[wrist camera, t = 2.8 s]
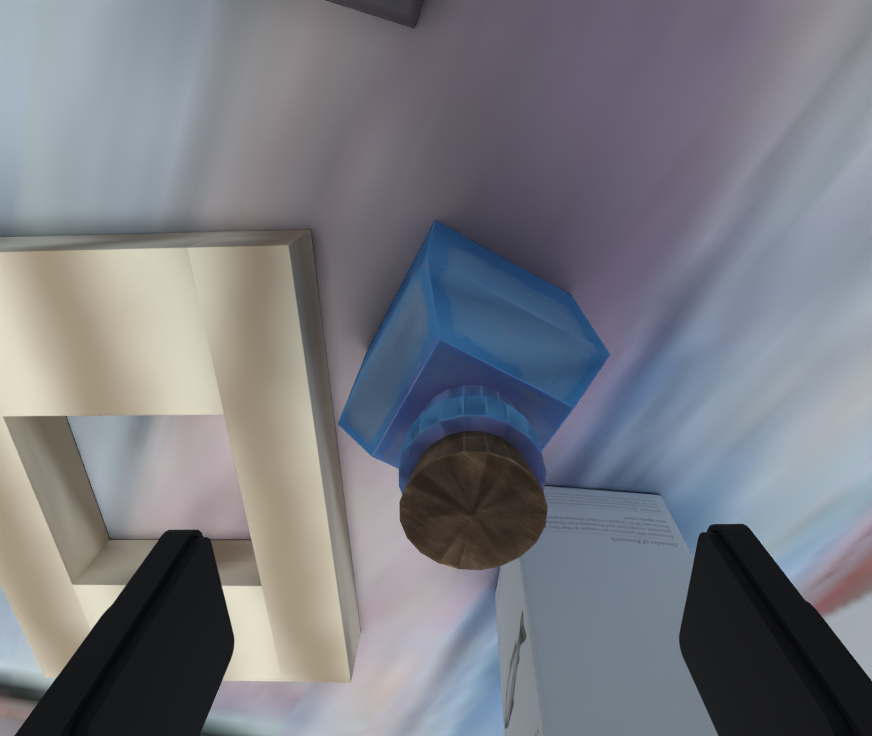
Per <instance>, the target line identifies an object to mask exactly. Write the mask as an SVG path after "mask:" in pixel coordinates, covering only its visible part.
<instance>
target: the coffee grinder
mask: <svg viewBox="0 0 872 736" xmlns="http://www.w3.org/2000/svg"><path fill="white" fill-rule="evenodd" d="M326 1H329V2H333V3H336V4H339V5H342V6H345V7H348V8H352V9H355V10H358V11H361V12H364V13H367V14H371V15H374V16H377V17H380V18H383V19H386V20H390V21H393V22H396V23H399V24H402V25H405V26H408V27H411V28H414V26H415V23H416V20H417V18H418V15H419V12H420V9H421V6H422V3H423V0H326Z"/></svg>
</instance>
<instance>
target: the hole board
mask: <svg viewBox="0 0 872 736" xmlns="http://www.w3.org/2000/svg"><path fill="white" fill-rule="evenodd" d="M219 414H224V417H225V421H226V426H227V430H228V435H229V440H230V444H231V449H232V453H233V458H234V462H235V467H236V471H237V476H238V481H239V485H240V490H241V494H242V499H243V503H244V508H245V512H246V517H247V522H248V526H249V531H250V535H251V540H211V543H212V547H213V551H214V555H215V559H216V564H217V568H218V572H219V576H220V580H221V584H222V588H223V592H224V597H225V601H226V605H227V609H228V613H229V617H230V621H231V625H232V630H233V634H234V651H233V655H232V658H231V661H230V663H229V665H228V668H227V670H226V672H225V675H224V677H223V680H230V681H295V682H351V679H352V674H353V668H354V663H355V658H356V653H357V648H358V643H359V637H360V632H361V631H360V623H359V615H358V607H357V599H356V590H355V582H354V574H353V566H352V558H351V550H350V542H349V534H348V526H347V518H346V510H345V502H344V494H343V486H342V478H341V470H340V462H339V454H338V446H337V438H336V430H335V422H334V414H333V406H332V397H331V389H330V381H329V373H328V365H327V357H326V349H325V341H324V333H323V325H322V317H321V309H320V301H319V293H318V285H317V277H316V269H315V261H314V253H313V245H312V237H311V229H306V230H266V231H226V232H186V233H146V234H105V235H65V236H25V237H0V585H1V587H2V589H3V591H4V593H5V595H6V597H7V599H8V601H9V603H10V605H11V608H12V610H13V612H14V614H15V616H16V618H17V620H18V622H19V624H20V626H21V628H22V630H23V632H24V634H25V636H26V638H27V640H28V643H29V645H30V647H31V649H32V651H33V653H34V655H35V657H36V659H37V661H38V663H39V665H40V667H41V669H42V671H43V673H44V675H45V678H57V677H58V675H59V674H60V672H61V671H62V670H63V668H64V667H65V666H66V664H67V663H68V661H69V660H70V659H71V657H72V656H73V655H74V653H75V652H76V650H77V649H78V648H79V646H80V645H81V644H82V642H83V641H84V639H85V638H86V637H87V635H88V634H89V633H90V631H91V630H92V628H93V627H94V626H95V624H96V623H97V621H98V620H99V619H100V617H101V616H102V615H103V613H104V612H105V611H106V610H107V609H108V608H109V607H110V606H111V605H112V604H113V603H114V601H115V600H116V599H117V597H118V596H119V594H120V593H121V592H122V590H123V589H124V587H125V586H126V585H127V583H128V582H129V580H130V579H131V578H132V576H133V575H134V574H135V572H136V571H137V569H138V568H139V567H140V565H141V564H142V562H143V561H144V560H145V558H146V557H147V555H148V554H149V553H150V551H151V550H152V549H153V547H154V546H155V544H156V543H157V542H158V540H110V539H109V536H108V533H107V530H106V528H105V525H104V522H103V519H102V516H101V514H100V511H99V508H98V505H97V502H96V500H95V497H94V494H93V491H92V488H91V486H90V483H89V480H88V477H87V474H86V472H85V469H84V466H83V463H82V460H81V458H80V455H79V452H78V449H77V446H76V444H75V441H74V438H73V435H72V432H71V430H70V427H69V424H68V421H67V418H66V416H101V415H219Z"/></svg>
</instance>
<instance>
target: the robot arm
mask: <svg viewBox="0 0 872 736" xmlns="http://www.w3.org/2000/svg"><path fill="white" fill-rule="evenodd" d="M679 645H680V650H681V653H682V656H683V659H684V661H685V663H686V665H687V668H688V670H689V672H690V674H691V676H692V679H693V681H694V683H695V685H696V687H697V690H698V692H699V694H700V696H701V699H702V701H703V703H704V705H705V707H706V710H707V712H708V714H709V716H710V719H711V721H712V723H713V725H714V727H715V730H716V732H717V734H718V736H872V681H871V679H870V678H869V677H868V676H867V674H866V673H865V672H864V671H863V669H862V668H861V667H860V665H859V664H858V663H857V662H856V660H855V659H854V658H853V656H852V655H851V654H850V653H849V651H848V650H847V649H846V647H845V646H844V645H843V644H842V642H841V641H840V640H839V638H838V637H837V636H836V635H835V633H834V632H833V631H832V629H831V628H830V627H829V626H828V624H827V623H826V622H825V620H824V619H823V618H822V617H821V615H820V614H819V613H818V611H817V610H816V609H815V608H814V607H813V606H812V605H811V604H810V603H809V602H807V601H805V600H804V599H803V597H802V596H801V595H800V593H799V592H798V591H797V589H796V588H795V587H794V586H793V584H792V583H791V582H790V580H789V579H788V578H787V576H786V575H785V574H784V573H783V571H782V570H781V569H780V567H779V566H778V565H777V563H776V562H775V561H774V560H773V558H772V557H771V556H770V554H769V553H768V552H767V551H766V549H765V548H764V547H763V545H762V544H761V543H760V541H759V540H758V539H757V538H756V536H755V535H754V534H753V532H752V531H751V530H750V529H749V528H748V527H747V526H746V525H744V524H713V525H710V527H709V528H708V530H707V532H703V533H701V534H700V535H699V538H698V543H697V548H696V553H695V558H694V563H693V568H692V573H691V578H690V583H689V588H688V593H687V598H686V603H685V608H684V613H683V618H682V623H681V628H680V633H679ZM233 651H234V634H233V630H232V625H231V621H230V617H229V613H228V609H227V605H226V601H225V597H224V592H223V588H222V584H221V580H220V576H219V572H218V568H217V564H216V559H215V555H214V551H213V547H212V543H211V540H210V539H209V538H207V537H203V535H202V533H201V532H200V531H199V530H168V531H166V532H165V533H164V534H163V535H162V536H161V537H160V539H159V540H158V542H157V543H156V544H155V546H154V547H153V549H152V550H151V551H150V553H149V554H148V555H147V557H146V558H145V560H144V561H143V562H142V564H141V565H140V567H139V568H138V569H137V571H136V572H135V574H134V575H133V576H132V578H131V579H130V580H129V582H128V583H127V585H126V586H125V587H124V589H123V590H122V592H121V593H120V594H119V596H118V597H117V599H116V600H115V601H114V603H113V604H112V605H111V606H110V607H109V608H108V609H107V610H106V611H105V612H104V613H103V615H102V616H101V617H100V619H99V620H98V621H97V623H96V624H95V626H94V627H93V628H92V630H91V631H90V633H89V634H88V635H87V637H86V638H85V639H84V641H83V642H82V644H81V645H80V646H79V648H78V649H77V650H76V652H75V653H74V655H73V656H72V657H71V659H70V660H69V661H68V663H67V664H66V666H65V667H64V668H63V670H62V671H61V672H60V674H59V675H58V677H57V678H56V679H55V681H54V682H53V684H52V685H51V686H50V688H49V689H48V690H47V692H46V693H45V695H44V696H43V697H42V699H41V700H40V701H39V703H38V704H37V706H36V707H35V708H34V710H33V711H32V712H31V714H30V715H29V717H28V718H27V719H26V721H25V722H24V724H23V725H22V726H21V728H20V729H19V730H18V732H17V733H16V735H15V736H199V735H200V732H201V730H202V728H203V725H204V723H205V720H206V718H207V716H208V713H209V711H210V708H211V706H212V704H213V701H214V699H215V696H216V694H217V692H218V689H219V687H220V684H221V682H222V680H223V677H224V675H225V672H226V670H227V668H228V665H229V663H230V661H231V658H232V655H233Z"/></svg>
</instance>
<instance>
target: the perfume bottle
mask: <svg viewBox="0 0 872 736" xmlns="http://www.w3.org/2000/svg"><path fill="white" fill-rule="evenodd" d="M609 356H610V354H609V352H608V351H607V349H606V348H605V346H604V345H603V343H602V342H601V340H600V338H599V337H598V335H597V334H596V332H595V331H594V329H593V328H592V326H591V325H590V323H589V322H588V320H587V319H586V317H585V315H584V314H583V312H582V311H581V309H580V308H579V306H578V305H577V303H576V302H575V300H574V299H573V297H572V295H570V294H569V293H567V292H565V291H563V290H561V289H560V288H558V287H556V286H554V285H552V284H550V283H549V282H547V281H545V280H543V279H541V278H540V277H538V276H536V275H534V274H532V273H530V272H529V271H527V270H525V269H523V268H521V267H520V266H518V265H516V264H514V263H512V262H510V261H509V260H507V259H505V258H503V257H501V256H499V255H498V254H496V253H494V252H492V251H490V250H489V249H487V248H485V247H483V246H481V245H479V244H478V243H476V242H474V241H472V240H470V239H469V238H467V237H465V236H463V235H461V234H459V233H458V232H456V231H454V230H452V229H450V228H449V227H447V226H445V225H443V224H441V223H439V222H438V221H436V220H435V221H434V223H433V225H432V227H431V229H430V231H429V233H428V235H427V236H426V238H425V240H424V242H423V244H422V246H421V248H420V250H419V252H418V254H417V256H416V258H415V260H414V262H413V263H412V265H411V267H410V269H409V271H408V273H407V275H406V277H405V279H404V281H403V283H402V285H401V287H400V289H399V290H398V292H397V294H396V296H395V298H394V300H393V302H392V304H391V306H390V308H389V310H388V312H387V314H386V315H385V317H384V319H383V321H382V323H381V325H380V327H379V329H378V331H377V333H376V335H375V337H374V339H373V341H372V342H371V344H370V346H369V348H368V350H367V353H366V355H365V358H364V360H363V363H362V365H361V368H360V370H359V373H358V375H357V377H356V380H355V382H354V385H353V387H352V390H351V392H350V395H349V397H348V400H347V402H346V405H345V407H344V410H343V412H342V415H341V417H340V420H339V422H338V425H339V426H340V427H341V428H342V429H343V430H344V431H345V432H347V433H348V434H349V435H350V436H351V437H352V438H353V439H354V440H355V441H356V442H357V443H358V444H359V445H360V446H361V447H362V448H363V449H365V450H366V451H367V452H368V453H369V454H370V455H371V456H372V457H374V458H376V459H379V460H381V461H383V462H385V463H387V464H389V465H392V466H394V467H396V468H398V469H399V487H400V490H401V492H402V497H401V500H400V522H401V524H402V527H403V529H404V531H405V534H406V536H407V538H408V539H409V540H410V541H411V543H412V544H413V545H414V546H415V547H416V548H417V549H418V550H419V551H420V552H421V553H422V554H424V555H426V556H427V557H429V558H431V559H432V560H434V561H436V562H437V563H440V564H443V565H447V566H450V567H454V568H457V569H470V570H483V569H488V568H493V567H498V566H503V565H505V564H507V563H509V562H511V561H513V560H515V559H517V558H519V557H521V556H522V555H523V554H525V553H526V552H527V551H528V550H529V549H530V548H531V547H532V546H533V545H535V544H536V543H537V541H538V539H539V537H540V535H541V533H542V532H543V530H544V528H545V526H546V519H547V511H548V506H547V502H546V499H545V495H544V487H545V479H546V470H545V466H544V462H543V458H542V454H541V452H542V451H543V449H544V448H545V447H546V445H547V444H548V442H549V441H550V440H551V438H552V437H553V436H554V434H555V433H556V432H557V430H558V429H559V428H560V426H561V425H562V423H563V422H564V421H565V419H566V418H567V417H568V415H569V414H570V413H571V411H572V410H573V408H574V407H575V406H576V404H577V403H578V401H579V400H580V398H581V397H582V395H583V394H584V392H585V391H586V390H587V388H588V387H589V385H590V384H591V382H592V381H593V379H594V378H595V376H596V375H597V373H598V372H599V371H600V369H601V368H602V366H603V365H604V363H605V362H606V360H607V359H608V357H609Z"/></svg>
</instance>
